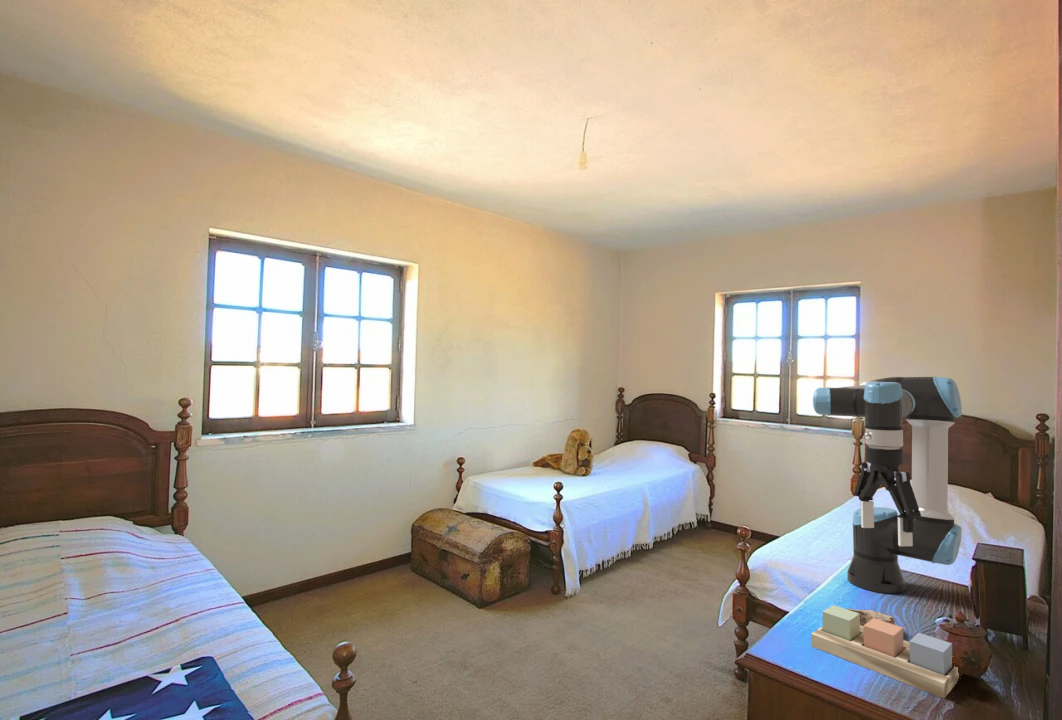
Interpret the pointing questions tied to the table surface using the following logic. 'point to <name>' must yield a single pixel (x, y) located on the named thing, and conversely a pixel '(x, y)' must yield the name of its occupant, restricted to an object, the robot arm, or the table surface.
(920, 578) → the table surface
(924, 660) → the slate block
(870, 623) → the terracotta block
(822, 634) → the socket board
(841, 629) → the sage block
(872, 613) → the stone
